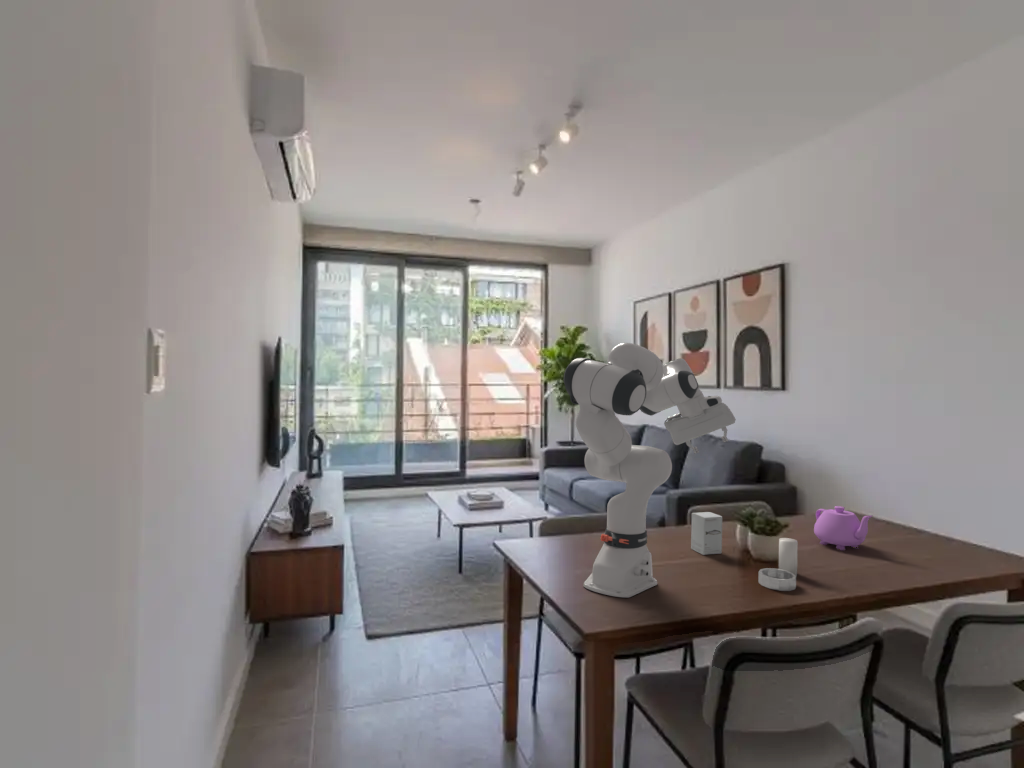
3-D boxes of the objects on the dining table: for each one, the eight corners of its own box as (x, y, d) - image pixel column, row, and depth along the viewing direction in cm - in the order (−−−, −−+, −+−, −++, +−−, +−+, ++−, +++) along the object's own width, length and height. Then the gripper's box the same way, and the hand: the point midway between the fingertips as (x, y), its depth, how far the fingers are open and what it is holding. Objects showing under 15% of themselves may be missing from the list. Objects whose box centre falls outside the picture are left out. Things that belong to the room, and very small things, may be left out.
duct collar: (792, 593, 150) (793, 582, 150) (755, 585, 155) (756, 575, 155) (797, 583, 158) (798, 572, 158) (762, 576, 163) (762, 566, 163)
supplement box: (703, 555, 182) (703, 517, 182) (690, 548, 189) (690, 512, 189) (722, 553, 184) (723, 516, 184) (709, 547, 191) (709, 511, 191)
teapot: (887, 553, 186) (888, 512, 186) (854, 558, 181) (855, 516, 181) (829, 535, 207) (830, 499, 207) (798, 539, 201) (799, 502, 201)
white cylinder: (795, 577, 162) (796, 543, 162) (777, 573, 165) (777, 540, 165) (798, 572, 166) (798, 539, 166) (780, 569, 169) (780, 536, 169)
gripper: (662, 420, 174) (680, 461, 174) (725, 395, 169) (744, 436, 168) (662, 418, 181) (679, 457, 180) (722, 394, 175) (741, 434, 174)
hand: (711, 447), depth 174 cm, fingers open, 8 cm apart
